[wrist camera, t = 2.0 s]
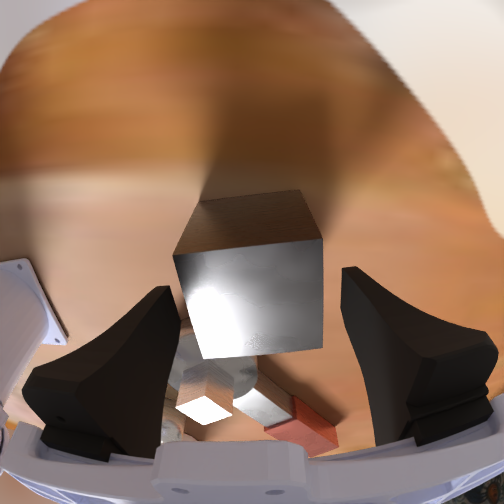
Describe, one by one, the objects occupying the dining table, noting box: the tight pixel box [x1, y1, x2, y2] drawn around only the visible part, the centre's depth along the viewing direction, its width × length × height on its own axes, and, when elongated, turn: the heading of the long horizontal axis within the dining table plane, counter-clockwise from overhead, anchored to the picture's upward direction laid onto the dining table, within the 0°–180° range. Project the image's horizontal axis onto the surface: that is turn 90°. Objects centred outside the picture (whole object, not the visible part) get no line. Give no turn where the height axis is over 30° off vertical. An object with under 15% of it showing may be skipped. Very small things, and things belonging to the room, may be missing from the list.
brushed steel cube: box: [172, 190, 323, 359], centre depth 15 cm, size 5×5×6 cm
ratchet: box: [168, 317, 339, 457], centre depth 21 cm, size 20×6×6 cm, turn 37°
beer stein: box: [442, 472, 504, 504], centre depth 22 cm, size 16×19×25 cm
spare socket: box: [161, 398, 186, 445], centre depth 24 cm, size 4×4×4 cm
